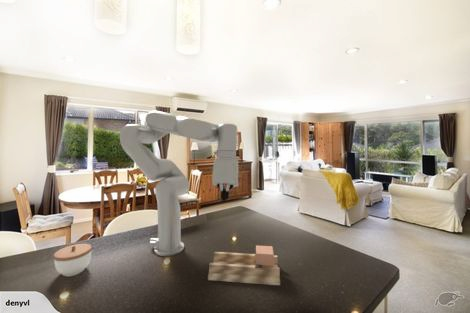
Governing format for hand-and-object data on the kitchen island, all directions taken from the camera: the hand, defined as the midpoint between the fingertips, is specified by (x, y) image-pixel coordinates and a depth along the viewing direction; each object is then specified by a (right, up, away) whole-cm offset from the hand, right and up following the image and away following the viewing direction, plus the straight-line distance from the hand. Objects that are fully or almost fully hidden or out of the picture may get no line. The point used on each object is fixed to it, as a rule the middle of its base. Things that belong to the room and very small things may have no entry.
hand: (224, 200), depth 84 cm
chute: (+8, -24, -9) cm, 27 cm away
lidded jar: (-54, -24, -9) cm, 60 cm away
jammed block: (+15, -23, -10) cm, 29 cm away
